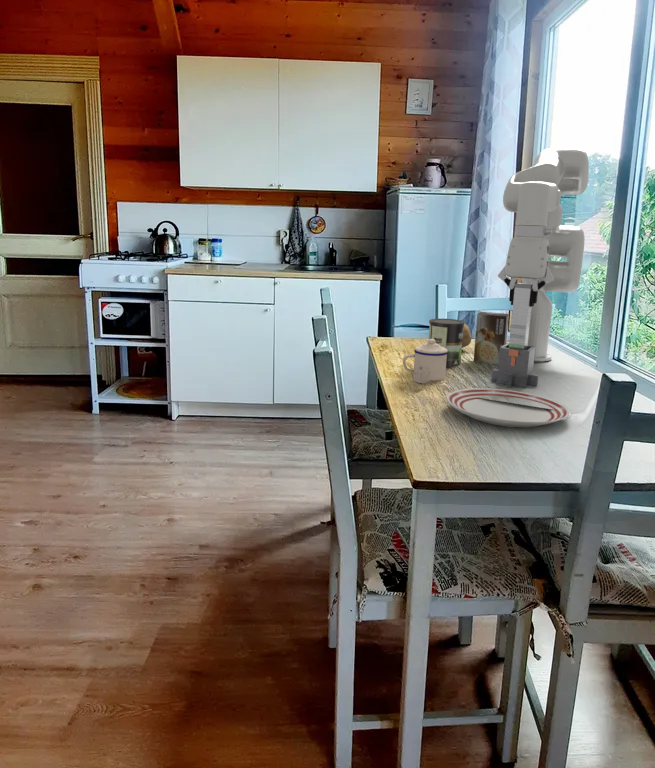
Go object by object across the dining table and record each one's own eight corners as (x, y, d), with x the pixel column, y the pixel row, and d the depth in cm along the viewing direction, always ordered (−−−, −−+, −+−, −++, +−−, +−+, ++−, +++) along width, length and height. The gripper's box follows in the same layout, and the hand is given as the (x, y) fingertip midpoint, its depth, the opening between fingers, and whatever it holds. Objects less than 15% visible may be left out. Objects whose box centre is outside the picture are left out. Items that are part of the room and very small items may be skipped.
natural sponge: (441, 346, 226) (444, 318, 224) (467, 347, 226) (469, 319, 223) (444, 351, 217) (447, 322, 215) (471, 352, 217) (474, 323, 214)
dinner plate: (509, 394, 166) (510, 382, 166) (595, 426, 143) (597, 412, 142) (422, 406, 154) (423, 392, 153) (500, 442, 131) (502, 426, 130)
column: (510, 360, 174) (518, 282, 168) (525, 362, 172) (534, 283, 167) (506, 363, 170) (514, 283, 164) (521, 365, 168) (530, 285, 162)
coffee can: (460, 364, 198) (464, 319, 195) (460, 372, 189) (464, 324, 185) (427, 362, 200) (430, 317, 197) (425, 369, 191) (428, 322, 187)
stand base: (496, 380, 180) (500, 341, 178) (540, 386, 175) (545, 346, 172) (485, 389, 170) (489, 348, 167) (531, 396, 165) (536, 353, 162)
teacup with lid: (443, 378, 181) (447, 337, 178) (447, 386, 172) (450, 343, 169) (401, 376, 182) (403, 335, 179) (402, 384, 173) (404, 341, 170)
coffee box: (505, 364, 200) (510, 313, 196) (502, 368, 194) (507, 316, 190) (475, 361, 203) (480, 311, 199) (472, 365, 198) (476, 313, 194)
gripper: (567, 234, 162) (558, 306, 166) (500, 231, 169) (494, 301, 174) (562, 234, 155) (553, 310, 160) (493, 231, 163) (486, 304, 167)
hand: (522, 304), depth 167 cm, fingers closed on column, 4 cm apart
